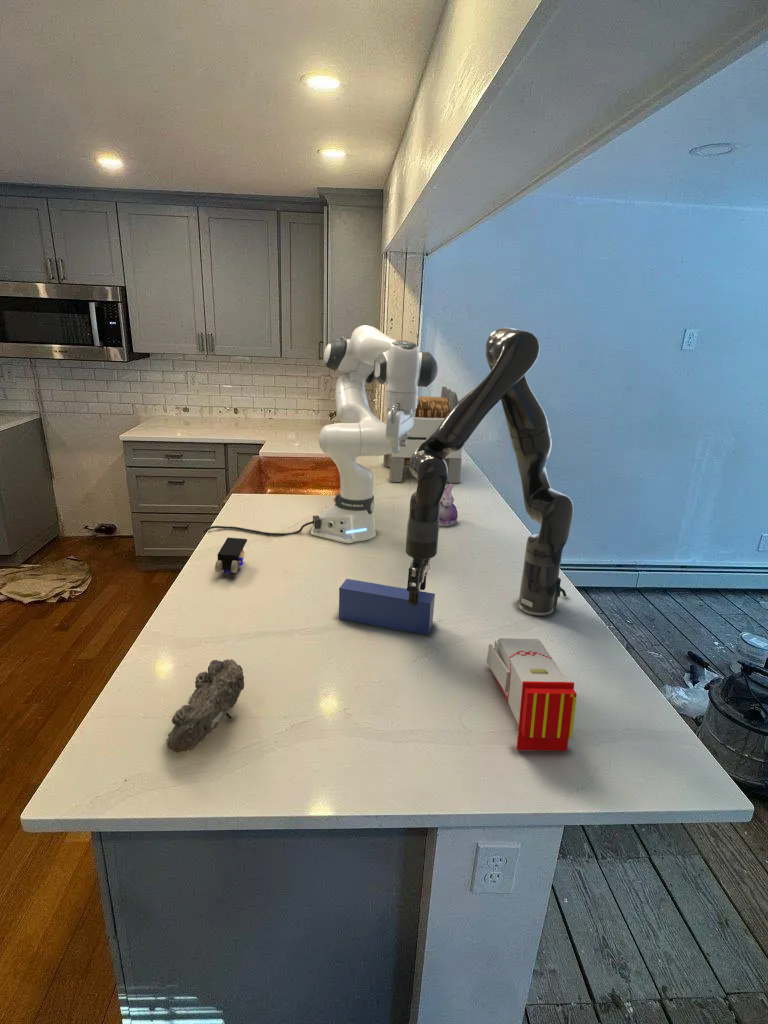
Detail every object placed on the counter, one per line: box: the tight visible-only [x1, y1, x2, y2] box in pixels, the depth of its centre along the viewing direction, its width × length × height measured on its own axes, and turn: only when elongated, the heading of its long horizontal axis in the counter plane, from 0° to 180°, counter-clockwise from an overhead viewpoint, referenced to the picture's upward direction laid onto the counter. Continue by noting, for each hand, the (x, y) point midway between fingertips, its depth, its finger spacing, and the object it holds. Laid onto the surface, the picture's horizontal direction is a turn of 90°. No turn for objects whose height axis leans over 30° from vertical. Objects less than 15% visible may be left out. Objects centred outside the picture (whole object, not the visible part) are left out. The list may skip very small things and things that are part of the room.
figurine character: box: [214, 537, 248, 578], centre depth 166 cm, size 7×8×15 cm
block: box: [338, 578, 436, 636], centre depth 142 cm, size 23×6×9 cm, turn 74°
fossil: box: [166, 658, 245, 754], centre depth 106 cm, size 22×10×15 cm
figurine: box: [439, 483, 459, 527], centre depth 210 cm, size 9×10×15 cm
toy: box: [486, 637, 578, 752], centre depth 114 cm, size 12×13×30 cm
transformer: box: [383, 386, 463, 484], centre depth 268 cm, size 34×33×41 cm
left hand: (399, 449), depth 164 cm, fingers open, 8 cm apart
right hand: (417, 596), depth 139 cm, fingers open, 8 cm apart
